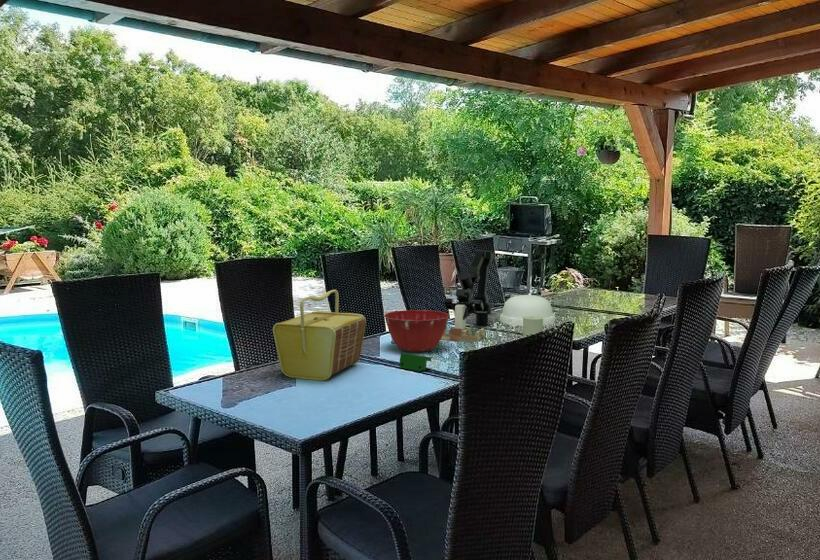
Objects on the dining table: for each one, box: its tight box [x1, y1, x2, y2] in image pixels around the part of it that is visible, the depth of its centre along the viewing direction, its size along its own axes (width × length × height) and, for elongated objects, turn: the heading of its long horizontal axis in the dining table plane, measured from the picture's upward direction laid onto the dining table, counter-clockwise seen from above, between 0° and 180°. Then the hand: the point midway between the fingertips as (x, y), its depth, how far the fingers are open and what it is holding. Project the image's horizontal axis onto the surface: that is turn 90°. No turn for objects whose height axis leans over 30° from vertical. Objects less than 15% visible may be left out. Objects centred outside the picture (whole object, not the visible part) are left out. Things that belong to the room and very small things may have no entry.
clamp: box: [398, 352, 432, 372], centre depth 243 cm, size 12×6×9 cm, turn 48°
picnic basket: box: [272, 289, 367, 381], centre depth 238 cm, size 29×26×30 cm
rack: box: [440, 326, 485, 343], centre depth 296 cm, size 13×20×6 cm, turn 67°
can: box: [522, 316, 544, 337], centre depth 287 cm, size 9×9×12 cm
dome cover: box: [499, 294, 556, 327], centre depth 339 cm, size 32×30×14 cm
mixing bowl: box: [383, 309, 450, 353], centre depth 275 cm, size 28×28×15 cm
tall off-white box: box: [454, 304, 467, 331], centre depth 296 cm, size 5×4×13 cm
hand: (459, 319), depth 295 cm, fingers closed on tall off-white box, 4 cm apart
